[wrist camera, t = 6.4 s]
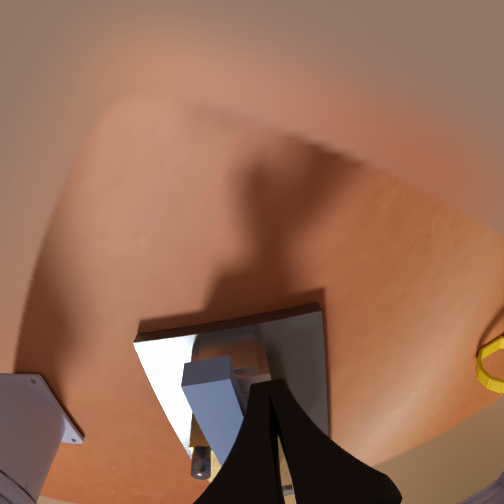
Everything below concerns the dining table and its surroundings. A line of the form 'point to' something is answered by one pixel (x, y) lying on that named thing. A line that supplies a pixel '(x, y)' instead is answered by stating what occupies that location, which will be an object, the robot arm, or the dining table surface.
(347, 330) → the dining table surface
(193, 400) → the lever
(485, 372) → the watch
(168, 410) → the valve
